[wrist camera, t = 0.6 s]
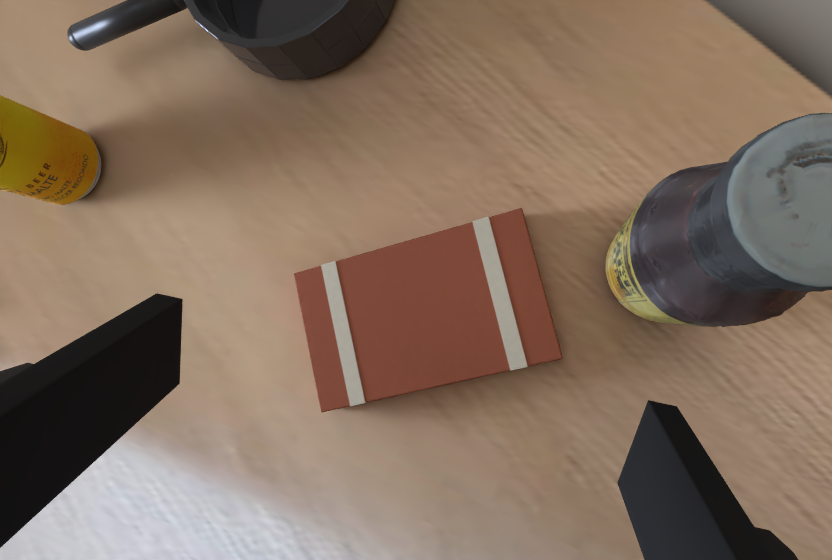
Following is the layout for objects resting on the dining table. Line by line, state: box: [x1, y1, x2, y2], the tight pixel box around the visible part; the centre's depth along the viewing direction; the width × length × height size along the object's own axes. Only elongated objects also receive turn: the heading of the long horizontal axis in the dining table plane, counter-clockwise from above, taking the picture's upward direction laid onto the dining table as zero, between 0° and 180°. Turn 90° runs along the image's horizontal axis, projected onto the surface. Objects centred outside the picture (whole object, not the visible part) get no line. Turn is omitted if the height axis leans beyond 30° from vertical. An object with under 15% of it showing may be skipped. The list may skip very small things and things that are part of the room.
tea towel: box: [294, 208, 562, 412], centre depth 33 cm, size 9×15×2 cm, turn 103°
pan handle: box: [68, 0, 187, 51], centre depth 37 cm, size 10×2×2 cm, turn 103°
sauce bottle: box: [606, 113, 832, 327], centre depth 21 cm, size 6×6×20 cm
